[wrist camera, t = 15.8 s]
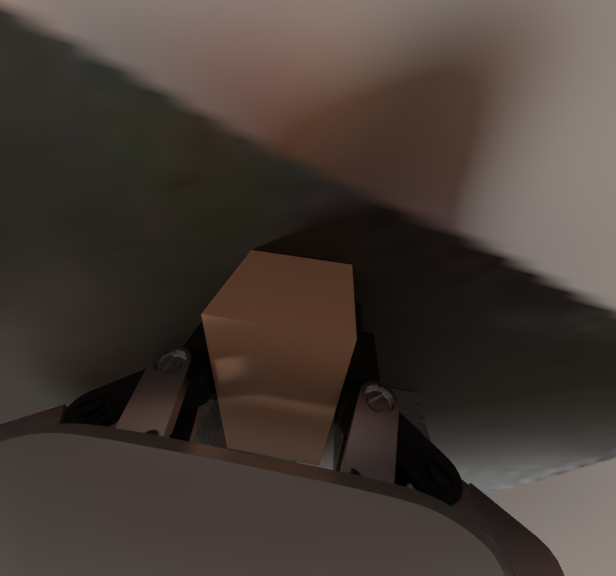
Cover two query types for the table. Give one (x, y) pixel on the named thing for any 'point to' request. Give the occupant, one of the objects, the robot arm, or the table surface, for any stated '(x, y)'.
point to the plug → (281, 352)
